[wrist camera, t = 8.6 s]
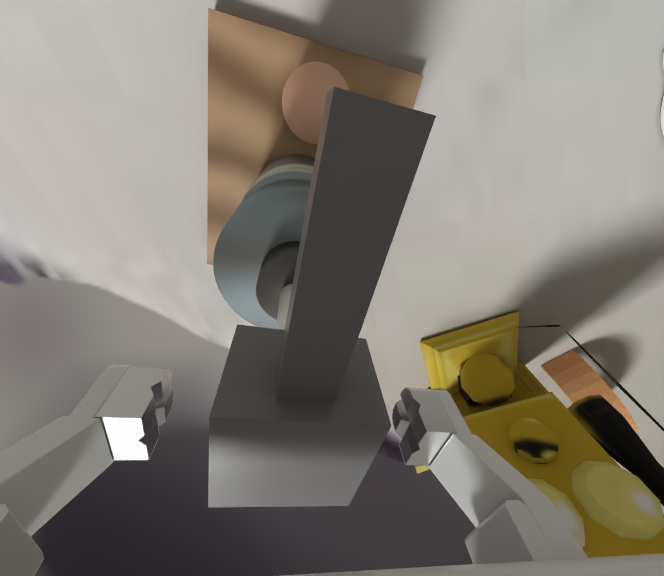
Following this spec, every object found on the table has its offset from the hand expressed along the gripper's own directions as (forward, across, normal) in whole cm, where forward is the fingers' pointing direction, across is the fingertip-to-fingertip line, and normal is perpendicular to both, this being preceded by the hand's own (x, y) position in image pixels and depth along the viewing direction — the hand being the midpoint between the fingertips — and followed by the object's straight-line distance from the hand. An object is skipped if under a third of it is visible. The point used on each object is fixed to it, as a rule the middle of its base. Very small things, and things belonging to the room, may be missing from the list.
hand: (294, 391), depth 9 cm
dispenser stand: (+26, 0, -2) cm, 26 cm away
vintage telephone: (+26, -33, +19) cm, 46 cm away
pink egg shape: (+24, 0, -8) cm, 25 cm away
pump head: (+6, 0, -3) cm, 6 cm away
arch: (+26, -56, +24) cm, 66 cm away
